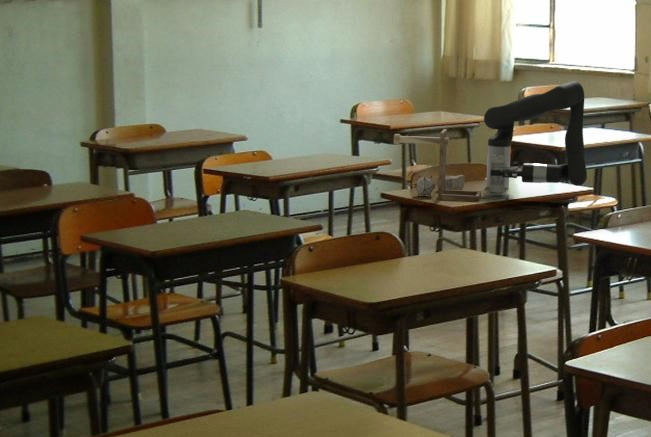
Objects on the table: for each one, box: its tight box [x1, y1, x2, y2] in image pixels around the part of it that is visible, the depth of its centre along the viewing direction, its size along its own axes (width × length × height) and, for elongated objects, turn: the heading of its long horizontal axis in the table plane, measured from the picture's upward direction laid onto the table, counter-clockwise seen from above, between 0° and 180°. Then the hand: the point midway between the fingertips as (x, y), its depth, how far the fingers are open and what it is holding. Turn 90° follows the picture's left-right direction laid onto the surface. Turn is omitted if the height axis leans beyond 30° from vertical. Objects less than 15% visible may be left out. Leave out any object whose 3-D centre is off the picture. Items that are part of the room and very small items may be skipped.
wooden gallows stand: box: [437, 128, 482, 202], centre depth 473 cm, size 13×16×26 cm
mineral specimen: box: [436, 174, 465, 191], centre depth 494 cm, size 13×7×6 cm, turn 119°
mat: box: [482, 193, 510, 201], centre depth 479 cm, size 10×10×1 cm
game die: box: [413, 175, 436, 198], centre depth 478 cm, size 9×8×10 cm
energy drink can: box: [488, 155, 506, 195], centre depth 477 cm, size 6×6×15 cm
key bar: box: [393, 133, 450, 146], centre depth 475 cm, size 4×21×4 cm, turn 79°
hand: (491, 171), depth 478 cm, fingers closed on energy drink can, 6 cm apart
